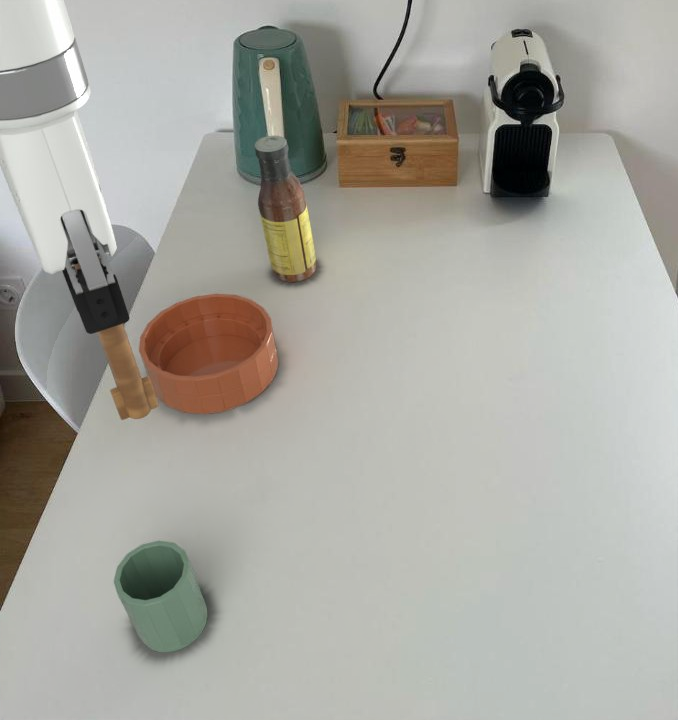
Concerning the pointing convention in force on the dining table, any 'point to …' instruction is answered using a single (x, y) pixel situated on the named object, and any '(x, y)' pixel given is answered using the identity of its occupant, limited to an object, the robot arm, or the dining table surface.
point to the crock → (161, 596)
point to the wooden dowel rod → (126, 374)
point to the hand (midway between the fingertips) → (103, 314)
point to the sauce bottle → (284, 213)
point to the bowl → (209, 353)
